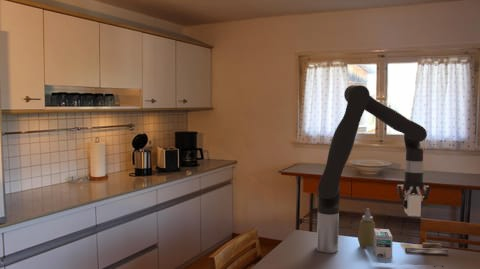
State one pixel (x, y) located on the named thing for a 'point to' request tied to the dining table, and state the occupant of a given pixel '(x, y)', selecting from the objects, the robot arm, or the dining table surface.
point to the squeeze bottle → (366, 230)
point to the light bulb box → (383, 243)
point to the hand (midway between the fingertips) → (412, 208)
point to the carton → (413, 205)
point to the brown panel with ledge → (424, 248)
